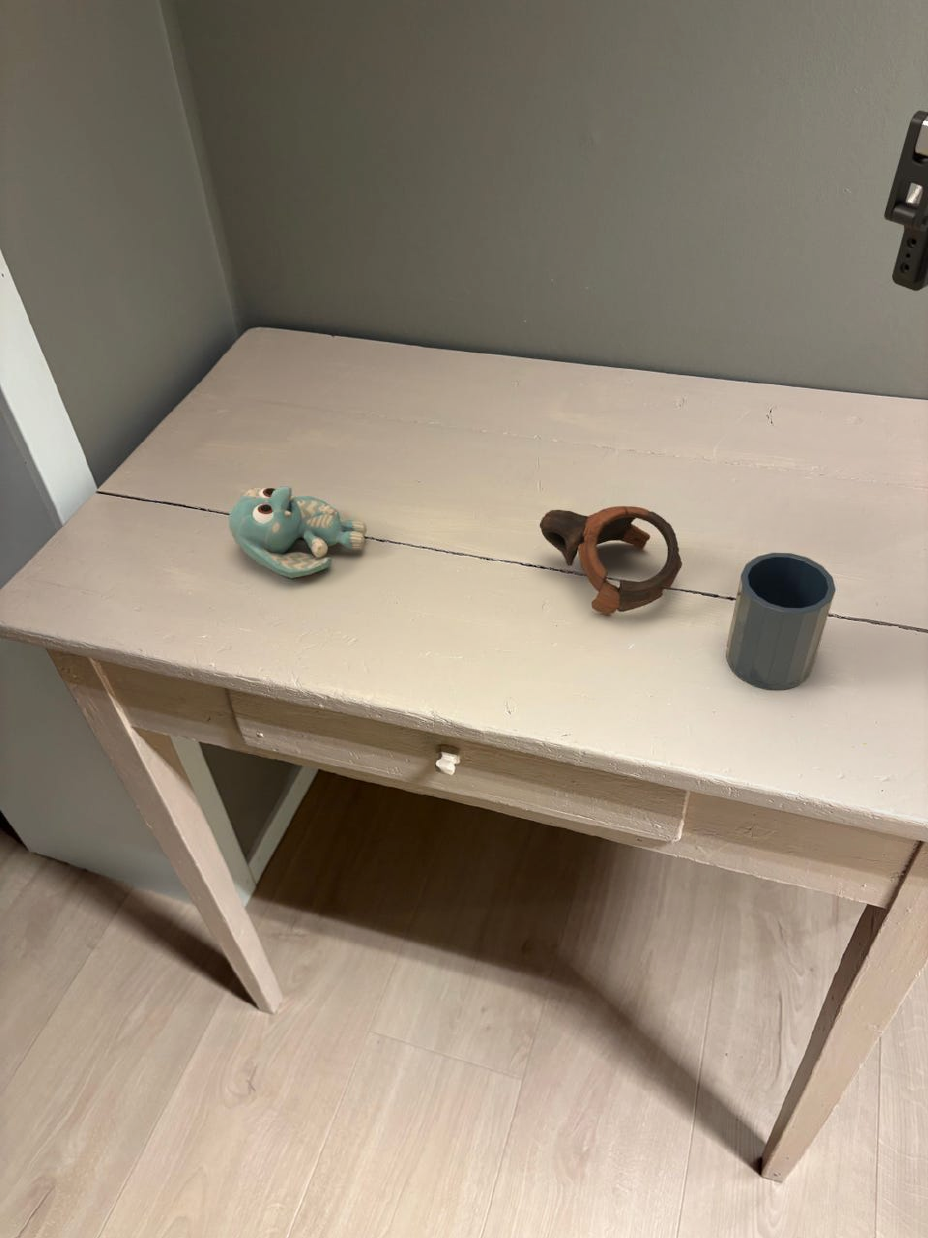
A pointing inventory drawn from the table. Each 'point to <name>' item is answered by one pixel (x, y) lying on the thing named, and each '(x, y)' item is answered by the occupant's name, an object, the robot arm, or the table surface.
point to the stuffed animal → (290, 530)
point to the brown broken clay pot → (612, 525)
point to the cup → (779, 620)
